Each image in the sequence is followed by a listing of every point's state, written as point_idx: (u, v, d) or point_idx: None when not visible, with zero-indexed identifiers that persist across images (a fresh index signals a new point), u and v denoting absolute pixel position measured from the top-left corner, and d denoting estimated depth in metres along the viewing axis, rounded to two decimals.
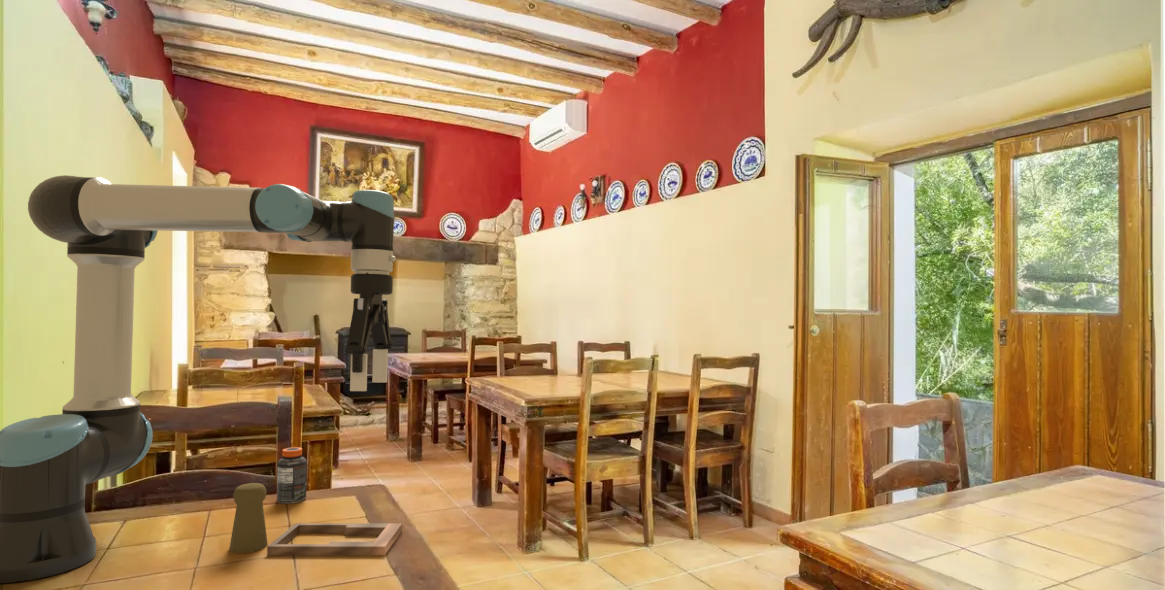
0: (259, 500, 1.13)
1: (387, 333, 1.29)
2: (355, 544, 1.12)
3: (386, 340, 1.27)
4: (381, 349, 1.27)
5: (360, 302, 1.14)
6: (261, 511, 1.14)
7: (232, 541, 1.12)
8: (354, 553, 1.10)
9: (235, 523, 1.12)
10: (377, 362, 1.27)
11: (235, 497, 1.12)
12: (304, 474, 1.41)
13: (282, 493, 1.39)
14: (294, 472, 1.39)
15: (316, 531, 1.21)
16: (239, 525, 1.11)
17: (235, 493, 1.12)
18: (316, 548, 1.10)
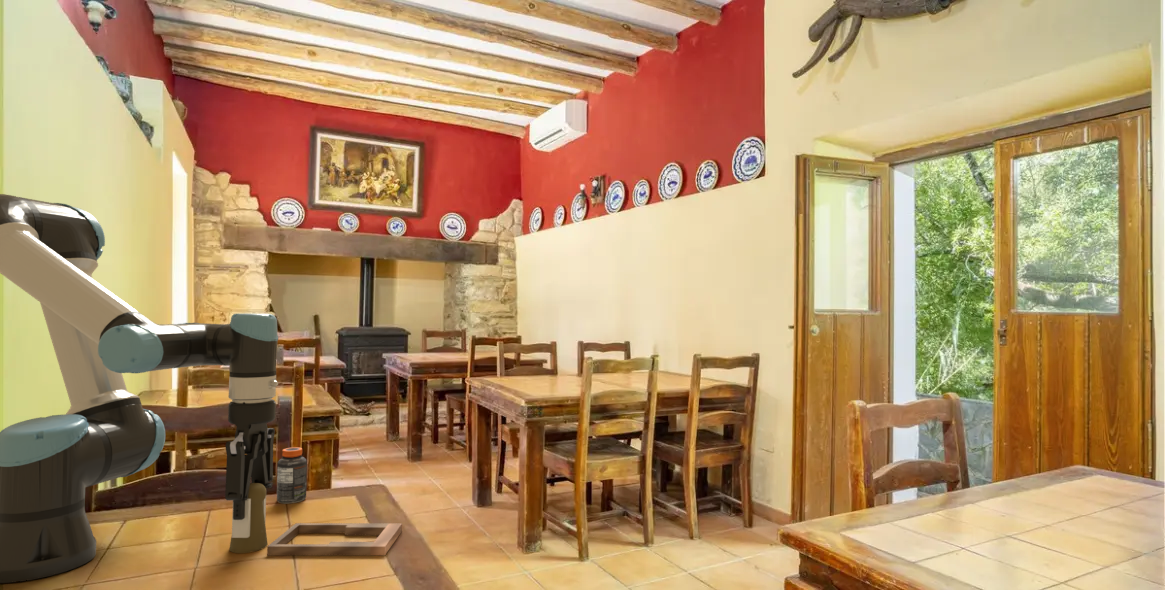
0: (259, 500, 1.13)
1: (269, 466, 1.19)
2: (355, 544, 1.12)
3: (265, 477, 1.17)
4: None
5: (232, 448, 1.08)
6: (261, 511, 1.14)
7: (232, 541, 1.12)
8: (354, 553, 1.10)
9: None
10: None
11: None
12: (304, 474, 1.41)
13: (282, 493, 1.39)
14: (294, 472, 1.39)
15: (316, 531, 1.21)
16: None
17: None
18: (316, 548, 1.10)
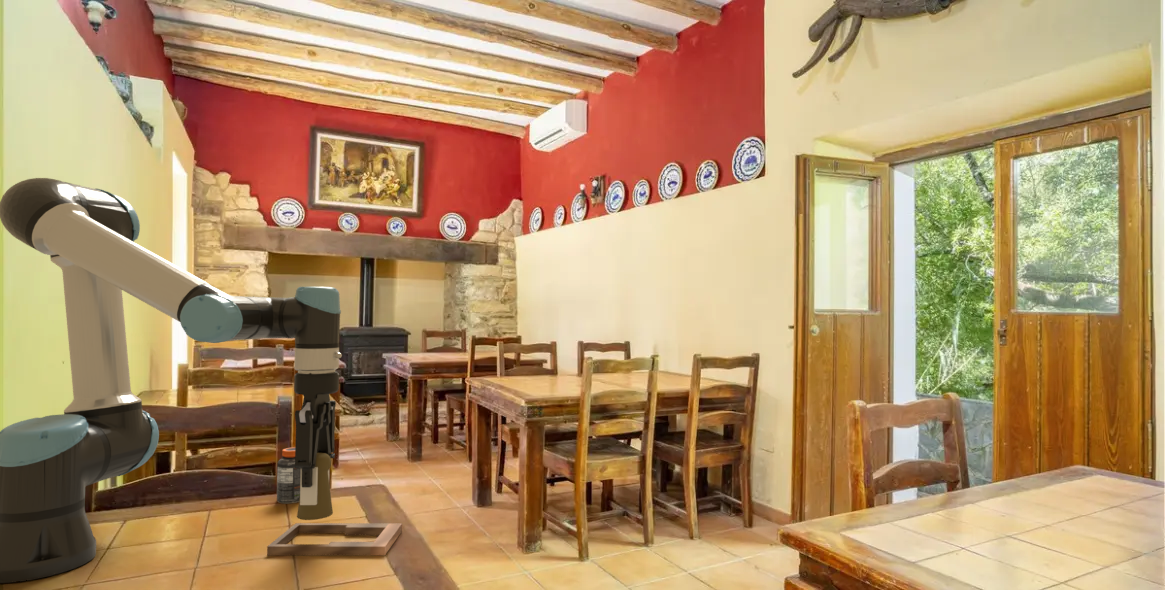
0: (325, 469, 1.15)
1: (331, 438, 1.22)
2: (355, 544, 1.12)
3: (329, 447, 1.20)
4: None
5: (302, 417, 1.10)
6: (327, 480, 1.16)
7: (300, 508, 1.14)
8: (354, 553, 1.10)
9: None
10: None
11: None
12: None
13: (282, 493, 1.39)
14: (294, 472, 1.39)
15: (316, 531, 1.21)
16: None
17: None
18: (316, 548, 1.10)
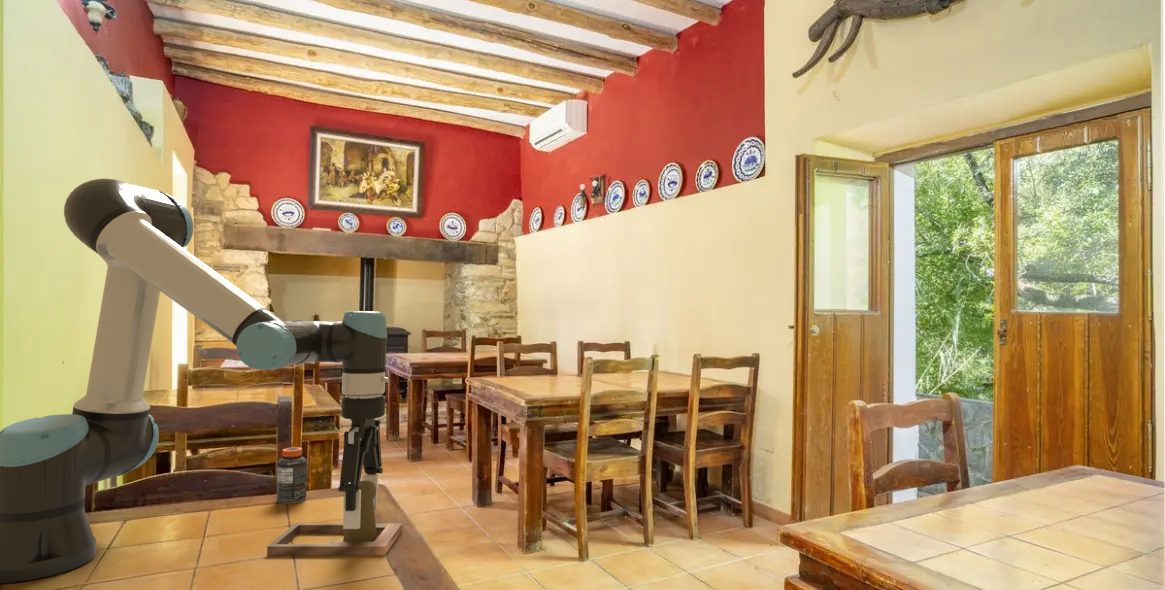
0: (371, 497, 1.16)
1: (378, 455, 1.24)
2: (355, 544, 1.12)
3: (377, 464, 1.22)
4: (371, 474, 1.22)
5: (350, 437, 1.10)
6: (372, 508, 1.16)
7: (346, 537, 1.14)
8: (354, 553, 1.10)
9: None
10: None
11: None
12: (304, 474, 1.41)
13: (282, 493, 1.39)
14: (294, 472, 1.39)
15: (316, 531, 1.21)
16: None
17: None
18: (316, 548, 1.10)
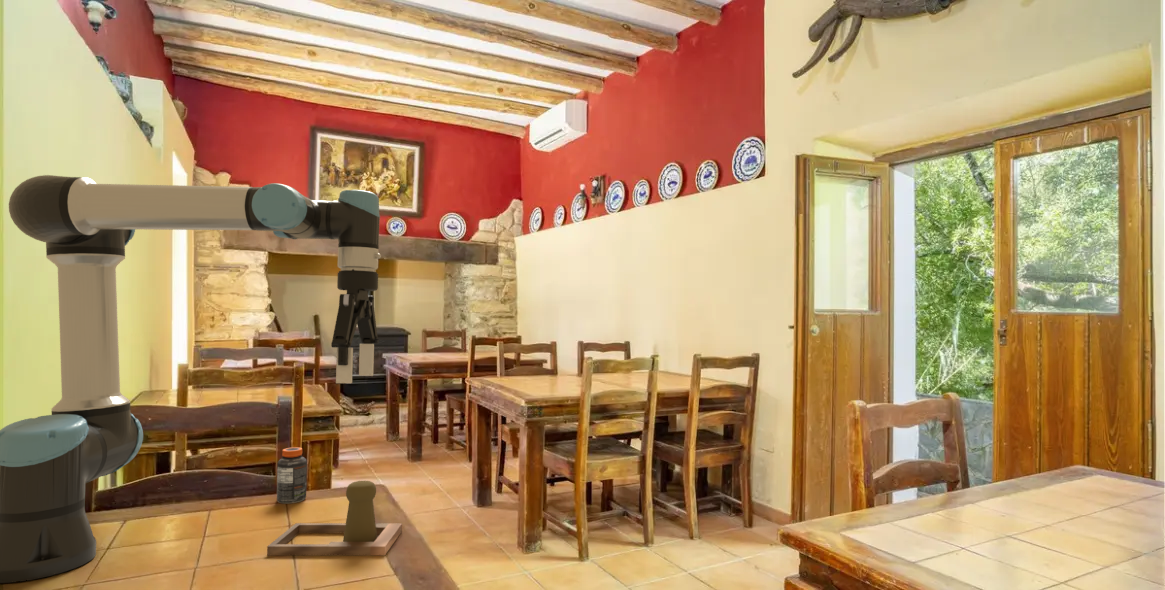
0: (371, 497, 1.16)
1: (373, 328, 1.33)
2: (355, 544, 1.12)
3: (372, 335, 1.32)
4: (367, 343, 1.32)
5: (345, 298, 1.19)
6: (372, 508, 1.16)
7: (346, 537, 1.14)
8: (354, 553, 1.10)
9: (348, 520, 1.15)
10: (364, 356, 1.31)
11: (349, 494, 1.14)
12: (304, 474, 1.41)
13: (282, 493, 1.39)
14: (294, 472, 1.39)
15: (316, 531, 1.21)
16: (353, 522, 1.14)
17: (348, 490, 1.15)
18: (316, 548, 1.10)
